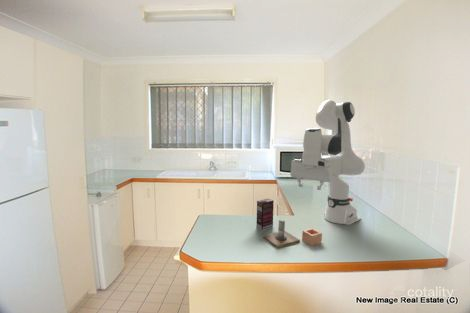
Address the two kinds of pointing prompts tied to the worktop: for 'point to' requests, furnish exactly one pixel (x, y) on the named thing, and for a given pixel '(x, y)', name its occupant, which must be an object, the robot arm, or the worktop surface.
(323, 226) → the worktop surface
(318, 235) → the ring
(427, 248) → the worktop surface
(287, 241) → the post board
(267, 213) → the supplement box
